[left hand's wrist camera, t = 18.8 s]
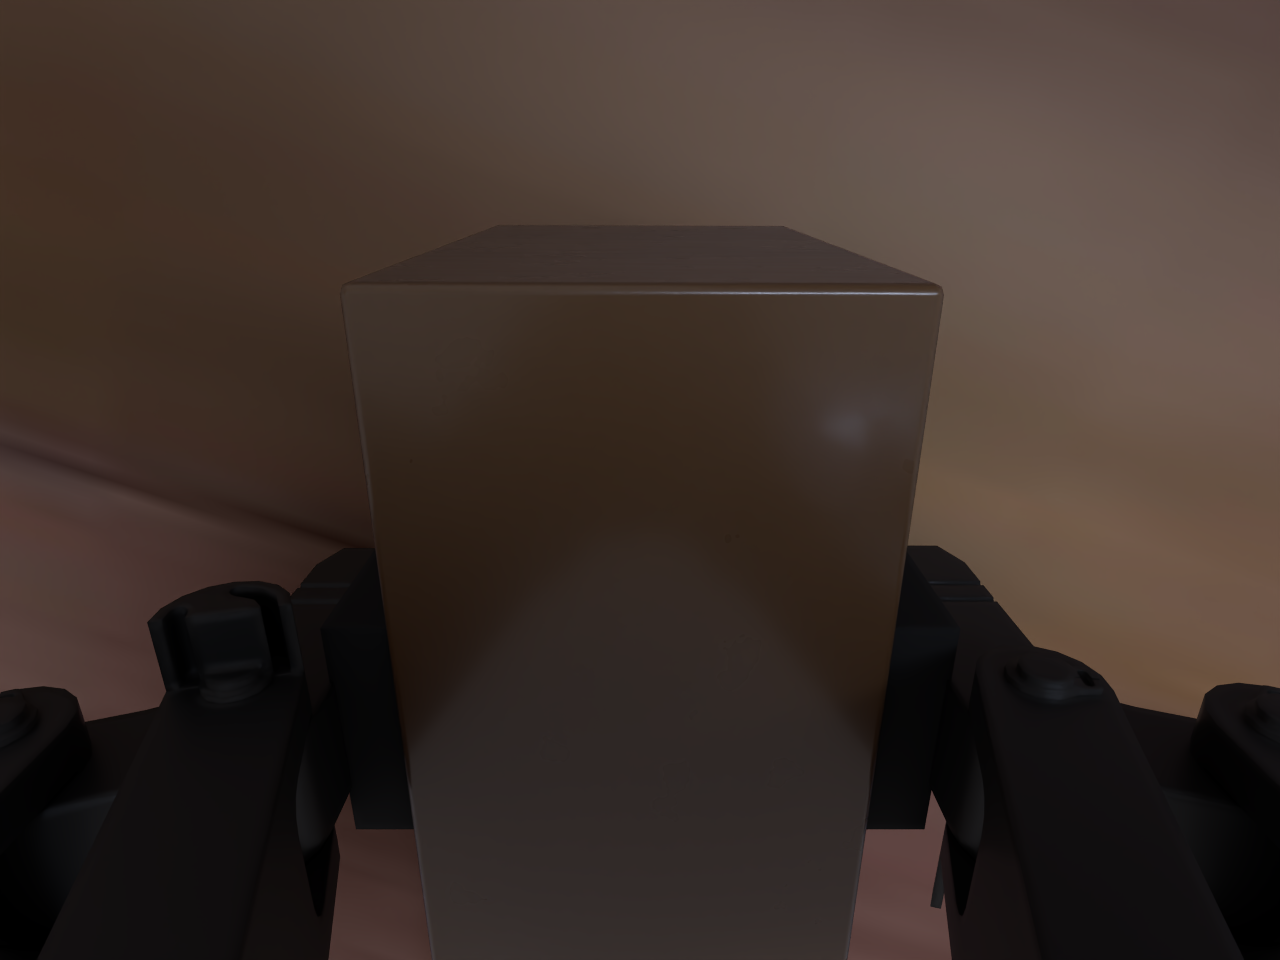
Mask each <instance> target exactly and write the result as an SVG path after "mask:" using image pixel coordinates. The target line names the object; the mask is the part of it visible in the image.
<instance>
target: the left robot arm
mask: <svg viewBox="0 0 1280 960" xmlns="http://www.w3.org/2000/svg"><path fill="white" fill-rule="evenodd" d="M147 623H148V627H149V631H150V634H151V638H152V641H153V645H154V649H155V652H156V656H157V660H158V663H159V667H160V670H161V674H162V678H163V681H164V685H165V689H166V694H165V696H164V698H163V700H162V702H161V704H160V706H159V707H156V708H152V709H148V710H144V711H139V712H134V713H129V714H124V715H118V716H113V717H108V718H103V719H98V720H93V721H88V722H85V721H84V718H83V715H82V712H81V709H80V706H79V703H78V700H77V697H75V696H74V695H73V694H71V693H70V692H68V691H67V690H66V689H61V688H53V687H45V686H42V687H33V688H24V689H13V690H8V691H4V692H1V693H0V960H328V958H329V949H330V940H331V932H332V923H333V914H334V906H335V897H336V888H337V879H338V871H339V862H340V853H339V847H338V841H337V836H336V830H335V822H336V820H337V818H338V816H339V814H340V812H341V810H342V807H343V805H344V803H345V801H346V799H347V797H348V795H349V792H350V798H351V804H352V809H353V815H354V820H355V826H356V829H414V826H413V819H412V811H411V804H410V797H409V790H408V782H407V775H406V768H405V760H404V753H403V746H402V739H401V731H400V724H399V717H398V710H397V702H396V695H395V688H394V681H393V673H392V666H391V659H390V652H389V644H388V637H387V630H386V623H385V615H384V608H383V601H382V594H381V586H380V579H379V572H378V565H377V557H376V550H375V548H344V549H342V550H340V551H339V552H337V553H335V554H334V555H332V556H330V557H329V558H327V559H325V560H324V561H322V562H320V563H319V564H317V565H316V566H315V567H314V568H313V570H312V571H311V572H310V573H309V575H308V576H307V577H306V578H305V579H304V581H303V582H302V583H301V588H297V589H296V591H295V592H294V593H293V594H292V595H291V597H290V593H289V592H287V591H286V590H285V589H283V588H282V587H280V586H279V585H276V584H271V583H266V582H261V581H248V582H232V583H227V584H221V585H216V586H211V587H207V588H204V589H201V590H199V591H196V592H193V593H190V594H187V595H185V596H182V597H180V598H178V599H177V600H175V601H173V602H171V603H170V604H168V605H166V606H164V607H163V608H161V609H160V610H159V611H158V612H157V613H156V614H155V615H154V616H153V617H152V618H151V619H150V620H149V621H148V622H147ZM931 790H932V792H933V794H934V796H935V798H936V800H937V802H938V805H939V807H940V809H941V811H942V813H943V815H944V817H945V820H946V825H945V830H944V836H943V841H942V846H941V851H940V856H939V862H938V867H937V872H936V877H935V882H934V887H933V893H932V899H931V907H935V908H940V909H941V905H942V900H943V895H945V904H946V912H947V921H948V930H949V938H950V947H951V956H952V960H1280V688H1276V687H1271V686H1265V685H1263V686H1261V685H1253V684H1244V683H1233V684H1225V685H1217V686H1216V687H1214V688H1213V689H1211V690H1210V691H1209V692H1207V693H1206V694H1205V696H1204V699H1203V702H1202V705H1201V708H1200V711H1199V714H1198V717H1197V719H1195V718H1190V717H1185V716H1180V715H1175V714H1169V713H1164V712H1159V711H1154V710H1149V709H1144V708H1138V707H1134V706H1130V705H1126V704H1122V703H1120V702H1119V700H1118V698H1117V696H1116V694H1115V692H1114V690H1113V689H1112V688H1111V687H1110V685H1109V684H1108V683H1107V682H1106V680H1105V679H1104V678H1103V677H1102V676H1101V675H1100V674H1098V673H1097V672H1096V671H1094V670H1093V669H1091V668H1090V667H1088V666H1087V665H1085V664H1084V663H1082V662H1080V661H1078V660H1076V659H1073V658H1071V657H1068V656H1066V655H1064V654H1061V653H1059V652H1056V651H1052V650H1047V649H1043V648H1039V647H1034V646H1033V645H1032V644H1031V642H1030V641H1029V640H1028V639H1027V638H1026V636H1025V635H1024V634H1023V633H1022V632H1021V630H1020V629H1019V628H1018V627H1017V625H1016V624H1015V623H1014V622H1013V621H1012V619H1011V618H1010V617H1009V616H1008V615H1007V613H1006V612H1005V611H1004V610H1003V608H1002V607H1001V606H1000V605H999V604H998V602H994V600H993V596H992V595H991V594H990V593H989V591H988V590H987V589H986V588H985V587H984V585H980V581H979V579H978V578H977V577H976V576H975V574H974V573H973V572H972V571H971V570H970V568H969V567H968V566H967V565H966V564H965V562H963V561H961V560H960V559H958V558H956V557H955V556H953V555H951V554H950V553H948V552H946V551H945V550H943V549H941V548H940V547H938V546H907V552H906V559H905V566H904V572H903V579H902V586H901V593H900V600H899V607H898V614H897V621H896V627H895V634H894V641H893V648H892V655H891V662H890V669H889V676H888V682H887V689H886V696H885V703H884V710H883V717H882V724H881V731H880V737H879V744H878V751H877V758H876V765H875V772H874V779H873V786H872V793H871V799H870V806H869V813H868V820H867V827H866V829H925V823H926V817H927V812H928V806H929V801H930V795H931Z"/></svg>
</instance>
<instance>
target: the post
mask: <svg viewBox="0 0 1280 960" xmlns="http://www.w3.org/2000/svg"><path fill="white" fill-rule="evenodd" d="M340 296H341V304H342V311H343V318H344V325H345V333H346V340H347V347H348V354H349V362H350V369H351V376H352V383H353V391H354V398H355V405H356V412H357V420H358V427H359V434H360V441H361V449H362V456H363V463H364V470H365V478H366V485H367V492H368V499H369V507H370V514H371V521H372V528H373V536H374V543H375V550H376V557H377V565H378V572H379V579H380V586H381V594H382V601H383V608H384V615H385V623H386V630H387V637H388V644H389V652H390V659H391V666H392V673H393V681H394V688H395V695H396V702H397V710H398V717H399V724H400V731H401V739H402V746H403V753H404V760H405V768H406V775H407V782H408V790H409V797H410V804H411V811H412V819H413V826H414V833H415V840H416V848H417V855H418V862H419V869H420V877H421V884H422V891H423V898H424V906H425V913H426V920H427V927H428V935H429V942H430V949H431V956H432V960H847V958H848V951H849V944H850V937H851V930H852V923H853V916H854V909H855V903H856V896H857V889H858V882H859V875H860V868H861V861H862V854H863V848H864V841H865V834H866V827H867V820H868V813H869V806H870V799H871V793H872V786H873V779H874V772H875V765H876V758H877V751H878V744H879V737H880V731H881V724H882V717H883V710H884V703H885V696H886V689H887V682H888V676H889V669H890V662H891V655H892V648H893V641H894V634H895V627H896V621H897V614H898V607H899V600H900V593H901V586H902V579H903V572H904V566H905V559H906V552H907V545H908V538H909V531H910V524H911V517H912V510H913V504H914V497H915V490H916V483H917V476H918V469H919V462H920V455H921V449H922V442H923V435H924V428H925V421H926V414H927V407H928V400H929V394H930V387H931V380H932V373H933V366H934V359H935V352H936V345H937V338H938V332H939V325H940V318H941V311H942V304H943V297H944V294H943V290H942V287H941V286H939V285H937V284H935V283H932V282H929V281H927V280H924V279H921V278H919V277H916V276H914V275H911V274H908V273H906V272H903V271H900V270H898V269H895V268H892V267H890V266H887V265H885V264H882V263H879V262H877V261H874V260H871V259H869V258H866V257H863V256H861V255H858V254H855V253H853V252H850V251H848V250H845V249H842V248H840V247H837V246H834V245H832V244H829V243H826V242H824V241H821V240H818V239H816V238H813V237H811V236H808V235H805V234H803V233H800V232H797V231H795V230H792V229H789V228H787V227H784V226H571V225H498V226H495V227H492V228H490V229H487V230H484V231H482V232H479V233H477V234H474V235H471V236H469V237H466V238H463V239H461V240H458V241H456V242H453V243H450V244H448V245H445V246H442V247H440V248H437V249H434V250H432V251H429V252H427V253H424V254H421V255H419V256H416V257H413V258H411V259H408V260H406V261H403V262H400V263H398V264H395V265H392V266H390V267H387V268H385V269H382V270H379V271H377V272H374V273H371V274H369V275H366V276H364V277H361V278H358V279H356V280H353V281H350V282H348V283H346V284H344V285H342V288H341V292H340Z"/></svg>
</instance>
